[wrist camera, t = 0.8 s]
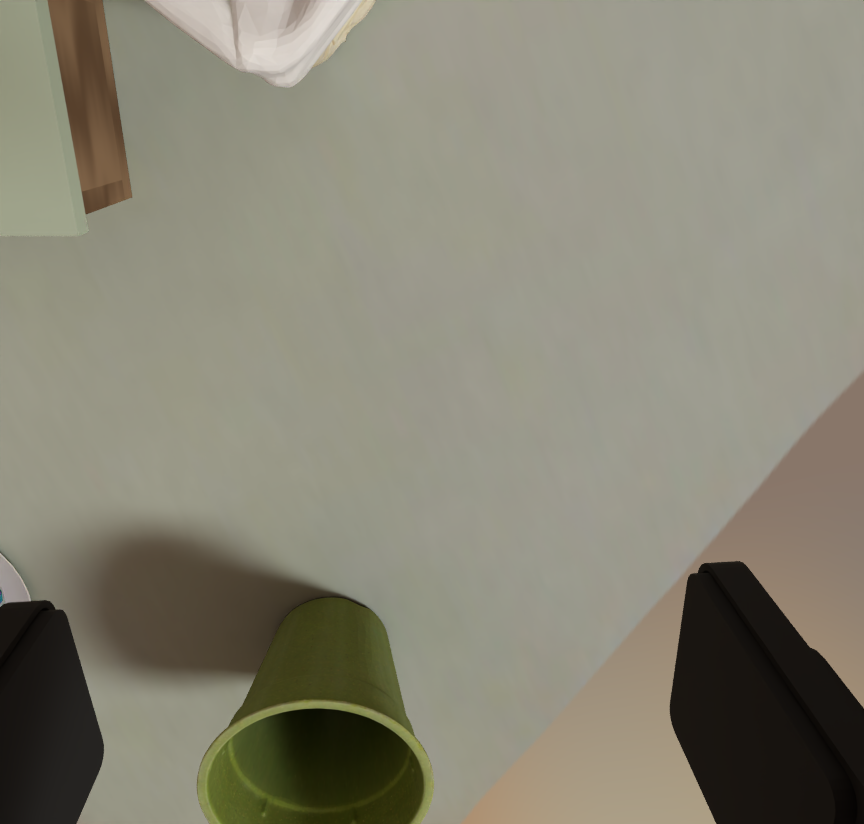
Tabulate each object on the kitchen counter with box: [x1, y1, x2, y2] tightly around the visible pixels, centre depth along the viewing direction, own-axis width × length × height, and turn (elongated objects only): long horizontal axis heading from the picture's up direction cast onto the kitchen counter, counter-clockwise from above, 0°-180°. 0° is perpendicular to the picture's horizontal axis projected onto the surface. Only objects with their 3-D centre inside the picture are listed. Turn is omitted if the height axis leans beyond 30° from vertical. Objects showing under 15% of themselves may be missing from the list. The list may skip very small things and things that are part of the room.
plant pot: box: [197, 598, 434, 824], centre depth 41 cm, size 12×12×11 cm
